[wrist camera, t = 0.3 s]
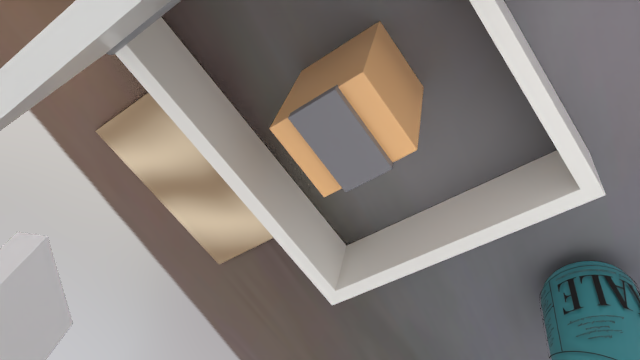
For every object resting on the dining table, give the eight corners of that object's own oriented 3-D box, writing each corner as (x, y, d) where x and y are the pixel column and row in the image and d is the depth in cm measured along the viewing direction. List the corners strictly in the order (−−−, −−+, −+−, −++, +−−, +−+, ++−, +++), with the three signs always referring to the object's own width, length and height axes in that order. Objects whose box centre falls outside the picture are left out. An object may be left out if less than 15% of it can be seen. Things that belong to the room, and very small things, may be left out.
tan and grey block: (300, 69, 38) (265, 131, 31) (378, 19, 35) (360, 74, 28) (346, 132, 40) (323, 203, 33) (424, 88, 37) (417, 156, 30)
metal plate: (98, 128, 43) (95, 131, 43) (164, 80, 40) (162, 82, 40) (220, 261, 48) (219, 264, 48) (288, 227, 45) (287, 230, 45)
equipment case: (134, 5, 38) (-139, 181, 20) (415, -231, 28) (355, -277, 11) (343, 259, 46) (275, 542, 28) (614, 139, 36) (762, 449, 19)
